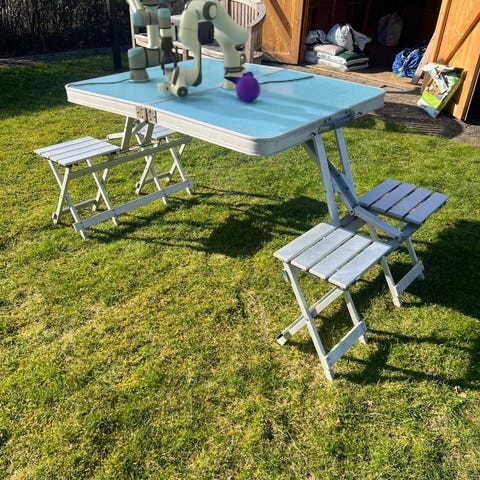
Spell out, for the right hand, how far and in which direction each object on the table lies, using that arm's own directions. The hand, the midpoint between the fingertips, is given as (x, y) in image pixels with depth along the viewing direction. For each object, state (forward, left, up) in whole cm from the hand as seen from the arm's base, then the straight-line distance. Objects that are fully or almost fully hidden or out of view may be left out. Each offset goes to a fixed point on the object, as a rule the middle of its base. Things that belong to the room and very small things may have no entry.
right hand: (170, 83), depth 297 cm
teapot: (-70, -60, -7) cm, 93 cm away
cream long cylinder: (0, +1, -7) cm, 7 cm away
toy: (-36, +39, -7) cm, 54 cm away
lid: (0, +1, +10) cm, 10 cm away
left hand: (0, +1, +6) cm, 6 cm away
